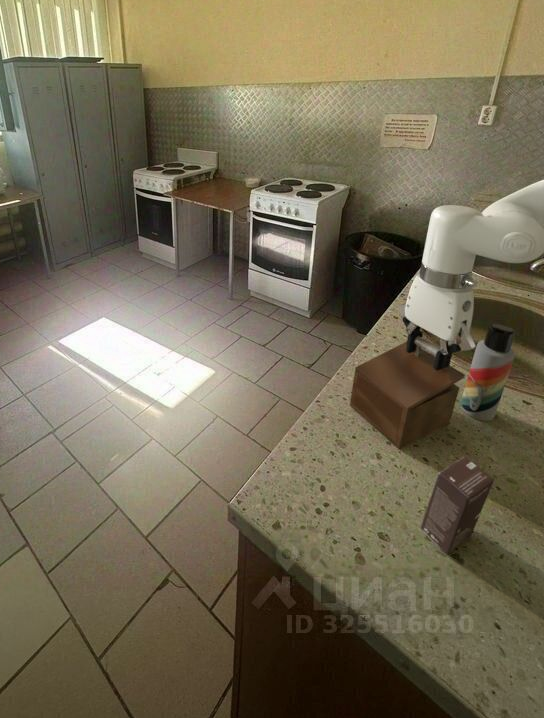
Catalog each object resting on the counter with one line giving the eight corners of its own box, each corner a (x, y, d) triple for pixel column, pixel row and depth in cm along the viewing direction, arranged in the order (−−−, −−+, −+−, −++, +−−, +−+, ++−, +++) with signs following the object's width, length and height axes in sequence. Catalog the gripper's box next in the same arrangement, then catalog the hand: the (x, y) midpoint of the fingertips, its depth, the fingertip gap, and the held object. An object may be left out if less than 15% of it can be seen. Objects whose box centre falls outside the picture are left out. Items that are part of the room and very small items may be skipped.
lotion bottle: (456, 410, 80) (479, 326, 72) (464, 396, 83) (488, 314, 76) (490, 426, 76) (518, 339, 68) (497, 411, 79) (525, 326, 72)
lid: (408, 343, 83) (410, 323, 81) (464, 377, 73) (468, 356, 71) (355, 370, 78) (355, 350, 76) (407, 411, 68) (410, 389, 66)
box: (449, 558, 55) (469, 498, 51) (418, 528, 59) (435, 470, 54) (475, 537, 57) (496, 478, 53) (444, 510, 61) (461, 453, 57)
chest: (397, 385, 87) (404, 351, 83) (449, 423, 77) (459, 387, 73) (349, 405, 82) (354, 370, 78) (398, 449, 71) (407, 411, 68)
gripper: (510, 290, 64) (484, 380, 71) (416, 254, 79) (401, 331, 85) (480, 300, 61) (456, 393, 68) (388, 261, 76) (376, 340, 83)
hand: (426, 358), depth 77 cm, fingers closed on lid, 5 cm apart
